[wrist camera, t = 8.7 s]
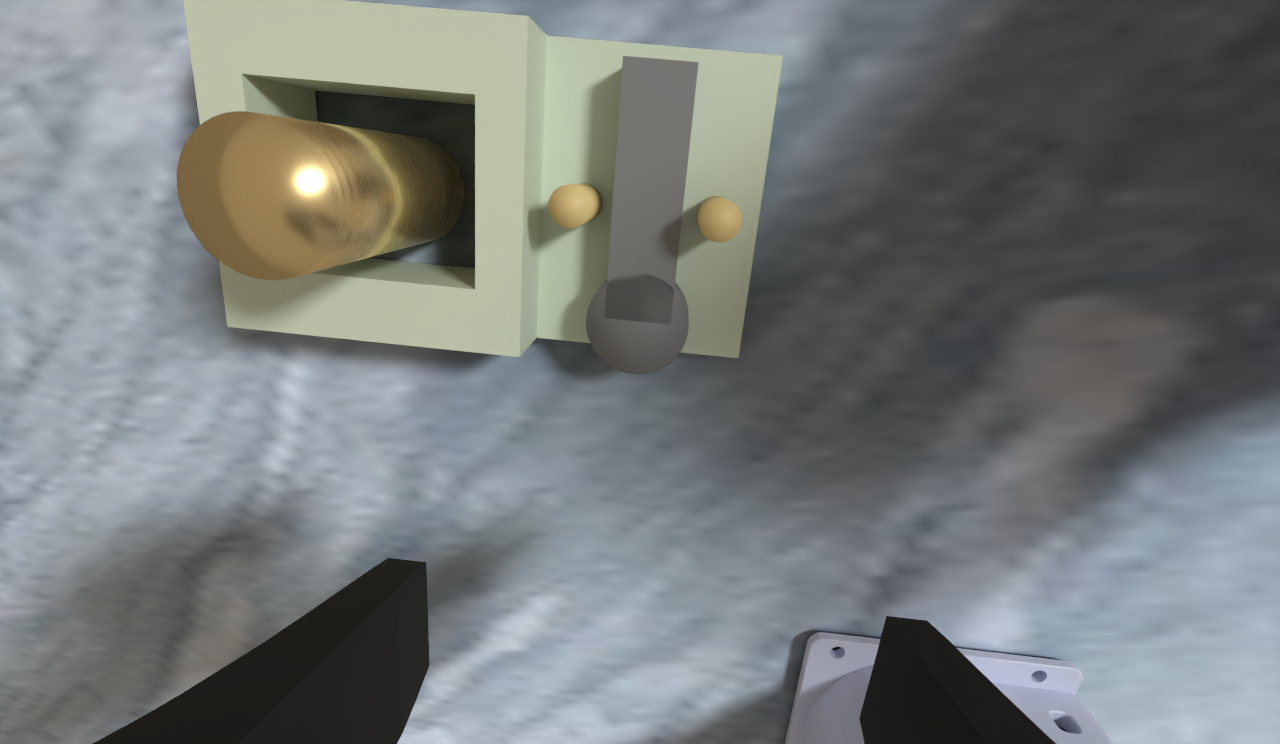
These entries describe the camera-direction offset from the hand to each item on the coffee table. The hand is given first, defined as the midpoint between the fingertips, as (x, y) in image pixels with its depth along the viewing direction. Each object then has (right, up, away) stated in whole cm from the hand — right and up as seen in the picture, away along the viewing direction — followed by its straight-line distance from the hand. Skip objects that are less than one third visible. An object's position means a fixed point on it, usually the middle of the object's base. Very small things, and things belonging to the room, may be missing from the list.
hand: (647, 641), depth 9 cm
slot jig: (-4, +9, +8) cm, 13 cm away
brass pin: (-7, +10, +8) cm, 14 cm away
